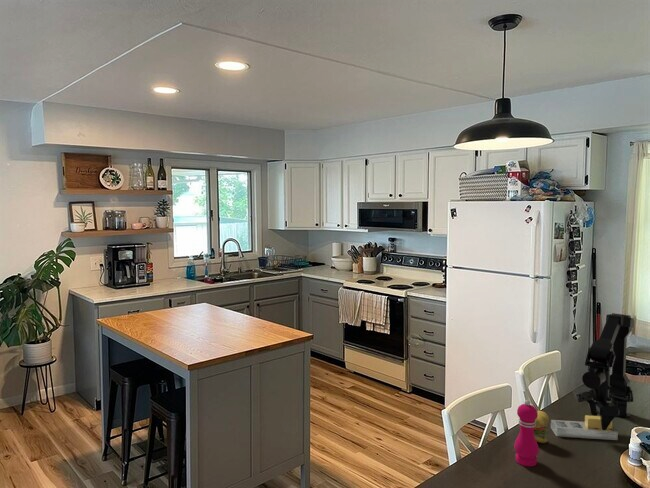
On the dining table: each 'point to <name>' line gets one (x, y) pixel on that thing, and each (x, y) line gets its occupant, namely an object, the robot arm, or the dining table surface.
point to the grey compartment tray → (581, 430)
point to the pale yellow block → (595, 422)
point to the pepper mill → (526, 435)
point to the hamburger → (541, 427)
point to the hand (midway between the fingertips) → (598, 424)
